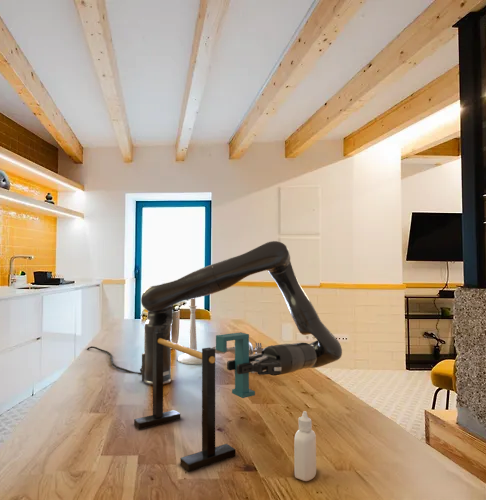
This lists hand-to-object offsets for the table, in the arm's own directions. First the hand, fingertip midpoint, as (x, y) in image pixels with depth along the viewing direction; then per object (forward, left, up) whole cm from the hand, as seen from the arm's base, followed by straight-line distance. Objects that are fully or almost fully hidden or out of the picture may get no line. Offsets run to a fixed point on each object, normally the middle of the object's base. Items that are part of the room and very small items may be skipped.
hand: (233, 367), depth 92 cm
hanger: (0, +1, -7) cm, 7 cm away
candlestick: (-38, +56, -16) cm, 70 cm away
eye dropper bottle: (+19, -11, -16) cm, 26 cm away
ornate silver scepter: (-18, +68, -16) cm, 73 cm away
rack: (-9, -10, -16) cm, 21 cm away
